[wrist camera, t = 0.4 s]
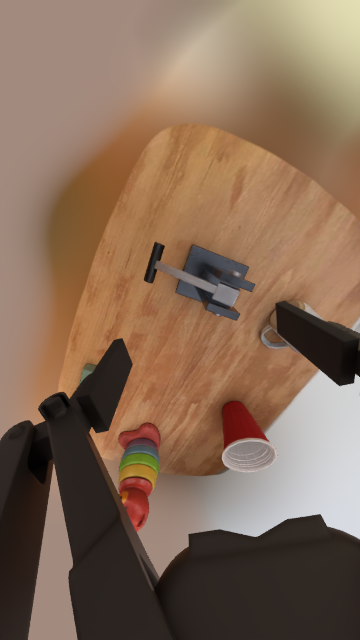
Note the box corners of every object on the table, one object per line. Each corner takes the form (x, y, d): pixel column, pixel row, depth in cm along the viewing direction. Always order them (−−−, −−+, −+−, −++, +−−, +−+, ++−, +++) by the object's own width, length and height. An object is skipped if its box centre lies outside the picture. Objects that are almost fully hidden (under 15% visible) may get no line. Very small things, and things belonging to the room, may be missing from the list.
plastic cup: (203, 413, 48) (211, 463, 37) (231, 386, 45) (249, 432, 34) (234, 430, 51) (250, 482, 40) (262, 405, 48) (289, 454, 37)
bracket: (175, 291, 36) (175, 315, 24) (192, 244, 33) (202, 243, 21) (226, 309, 38) (252, 341, 25) (247, 266, 35) (288, 278, 22)
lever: (147, 279, 29) (140, 280, 26) (158, 243, 27) (151, 240, 25) (227, 315, 26) (226, 318, 24) (246, 277, 24) (246, 278, 22)
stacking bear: (151, 420, 49) (138, 510, 32) (169, 443, 52) (166, 536, 36) (116, 434, 50) (86, 526, 34) (136, 456, 54) (118, 549, 37)
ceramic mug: (288, 292, 37) (315, 304, 30) (313, 316, 39) (344, 333, 32) (249, 330, 40) (264, 349, 33) (274, 351, 42) (293, 373, 35)
